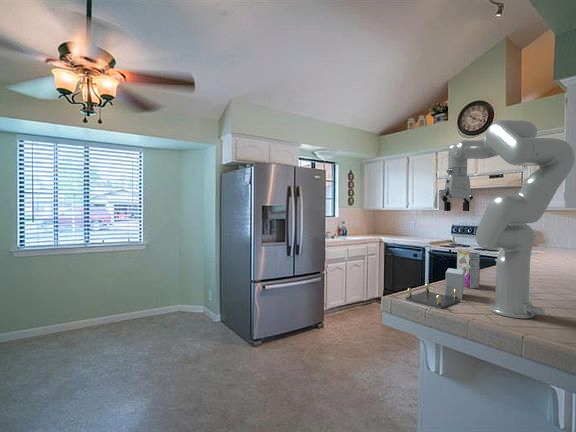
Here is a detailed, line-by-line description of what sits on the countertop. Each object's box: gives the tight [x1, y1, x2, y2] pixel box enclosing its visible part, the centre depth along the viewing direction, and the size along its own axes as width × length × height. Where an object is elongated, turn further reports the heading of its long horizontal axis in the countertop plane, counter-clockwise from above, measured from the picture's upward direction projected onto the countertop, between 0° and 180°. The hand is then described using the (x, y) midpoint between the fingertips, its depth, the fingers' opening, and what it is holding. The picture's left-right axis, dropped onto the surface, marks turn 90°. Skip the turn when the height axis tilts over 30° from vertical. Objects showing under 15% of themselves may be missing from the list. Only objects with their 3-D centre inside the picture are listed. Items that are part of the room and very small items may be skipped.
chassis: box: [405, 282, 461, 310], centre depth 123 cm, size 14×15×4 cm
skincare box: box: [444, 267, 465, 300], centre depth 129 cm, size 10×6×10 cm, turn 148°
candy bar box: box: [456, 248, 481, 290], centre depth 146 cm, size 11×5×16 cm, turn 179°
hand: (456, 211), depth 139 cm, fingers open, 9 cm apart
